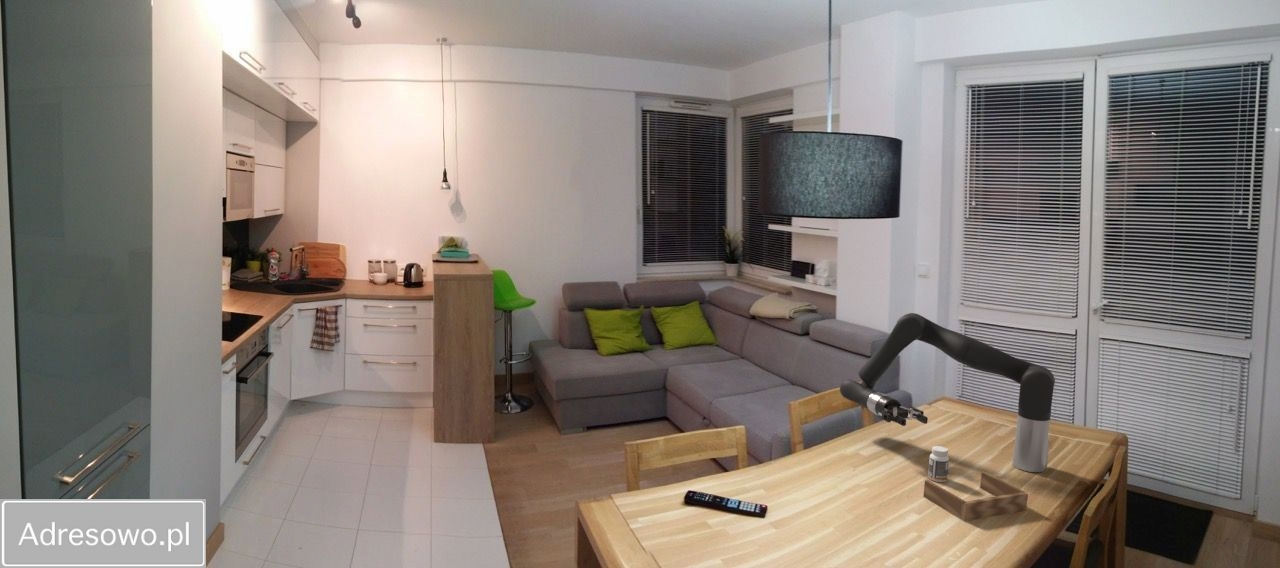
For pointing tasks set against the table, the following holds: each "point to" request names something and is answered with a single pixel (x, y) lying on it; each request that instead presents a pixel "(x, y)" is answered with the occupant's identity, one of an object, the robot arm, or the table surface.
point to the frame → (1003, 503)
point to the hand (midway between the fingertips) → (916, 421)
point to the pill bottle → (938, 464)
